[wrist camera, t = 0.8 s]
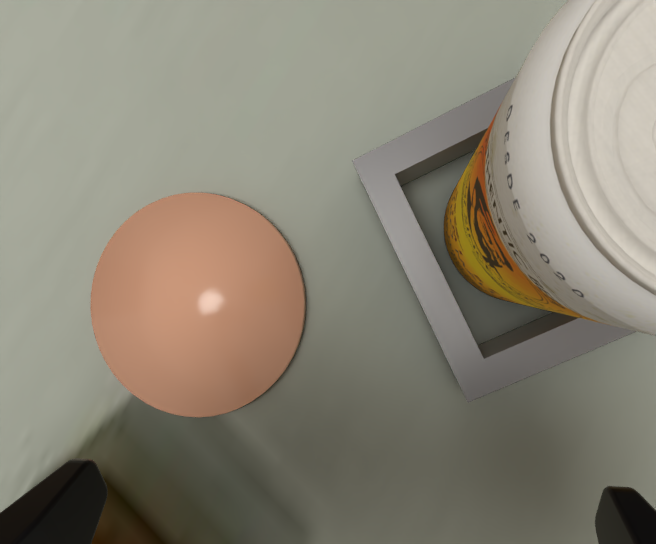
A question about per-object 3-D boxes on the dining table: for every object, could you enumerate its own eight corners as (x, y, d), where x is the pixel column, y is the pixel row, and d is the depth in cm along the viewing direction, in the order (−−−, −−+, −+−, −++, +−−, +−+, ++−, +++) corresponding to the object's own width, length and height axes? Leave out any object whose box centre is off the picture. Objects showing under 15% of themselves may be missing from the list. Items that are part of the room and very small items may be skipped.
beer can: (418, 196, 22) (444, 19, 7) (553, 129, 21) (917, -235, 6) (481, 325, 21) (657, 436, 6) (622, 262, 20) (1199, 222, 6)
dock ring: (691, 285, 20) (741, 287, 17) (459, 385, 21) (467, 402, 18) (576, 66, 21) (605, 31, 18) (359, 176, 22) (351, 160, 19)
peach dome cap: (343, 359, 22) (341, 362, 21) (149, 447, 23) (142, 451, 23) (249, 156, 23) (245, 153, 22) (66, 252, 24) (58, 252, 24)
